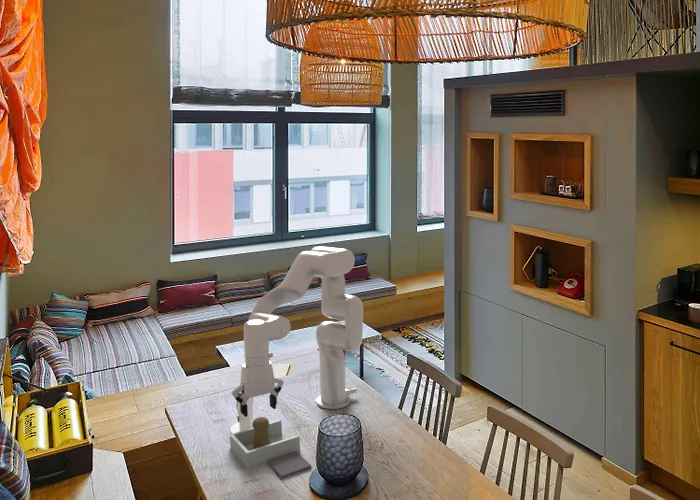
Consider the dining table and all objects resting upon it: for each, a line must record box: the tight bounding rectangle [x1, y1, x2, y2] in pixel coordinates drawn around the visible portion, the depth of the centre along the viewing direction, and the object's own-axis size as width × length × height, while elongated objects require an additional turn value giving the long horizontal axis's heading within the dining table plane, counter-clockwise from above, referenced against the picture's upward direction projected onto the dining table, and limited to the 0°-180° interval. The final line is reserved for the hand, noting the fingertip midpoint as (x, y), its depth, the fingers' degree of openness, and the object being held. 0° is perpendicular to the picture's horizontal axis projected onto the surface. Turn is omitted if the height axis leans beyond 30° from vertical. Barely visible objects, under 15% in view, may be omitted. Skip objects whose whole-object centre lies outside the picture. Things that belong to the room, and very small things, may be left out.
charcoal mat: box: [266, 451, 312, 480], centre depth 177 cm, size 10×10×1 cm
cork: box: [252, 416, 271, 450], centre depth 186 cm, size 6×6×11 cm
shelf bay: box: [229, 419, 301, 469], centre depth 187 cm, size 18×14×5 cm
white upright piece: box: [229, 392, 254, 434], centre depth 200 cm, size 12×11×15 cm
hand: (259, 411), depth 184 cm, fingers open, 9 cm apart
